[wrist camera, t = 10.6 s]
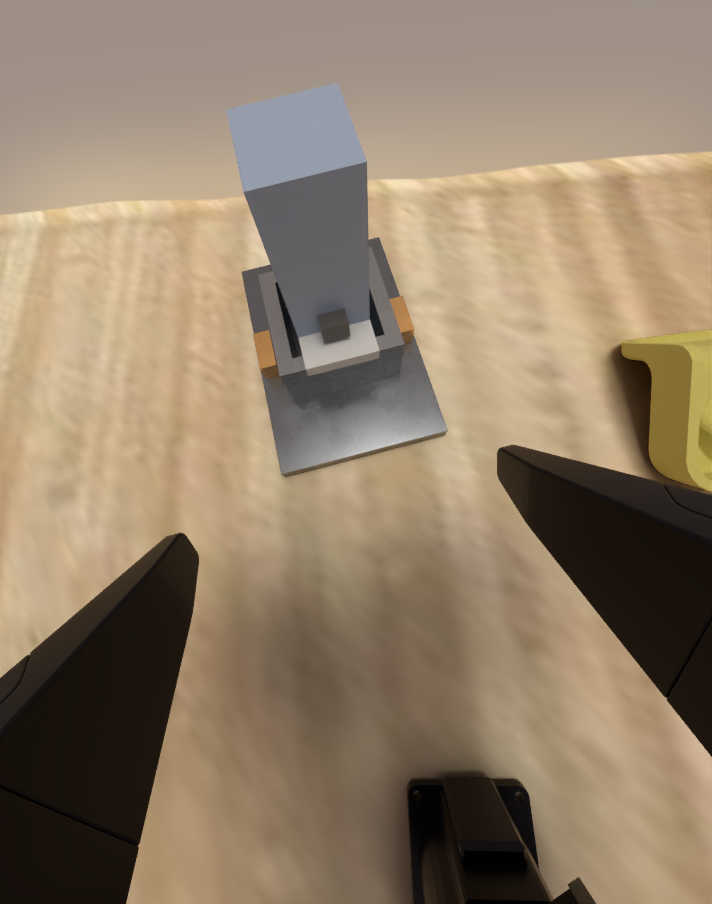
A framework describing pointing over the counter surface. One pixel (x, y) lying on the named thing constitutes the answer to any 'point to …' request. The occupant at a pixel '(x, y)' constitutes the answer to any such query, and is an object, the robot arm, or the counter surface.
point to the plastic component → (679, 403)
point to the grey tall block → (311, 218)
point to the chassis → (342, 380)
